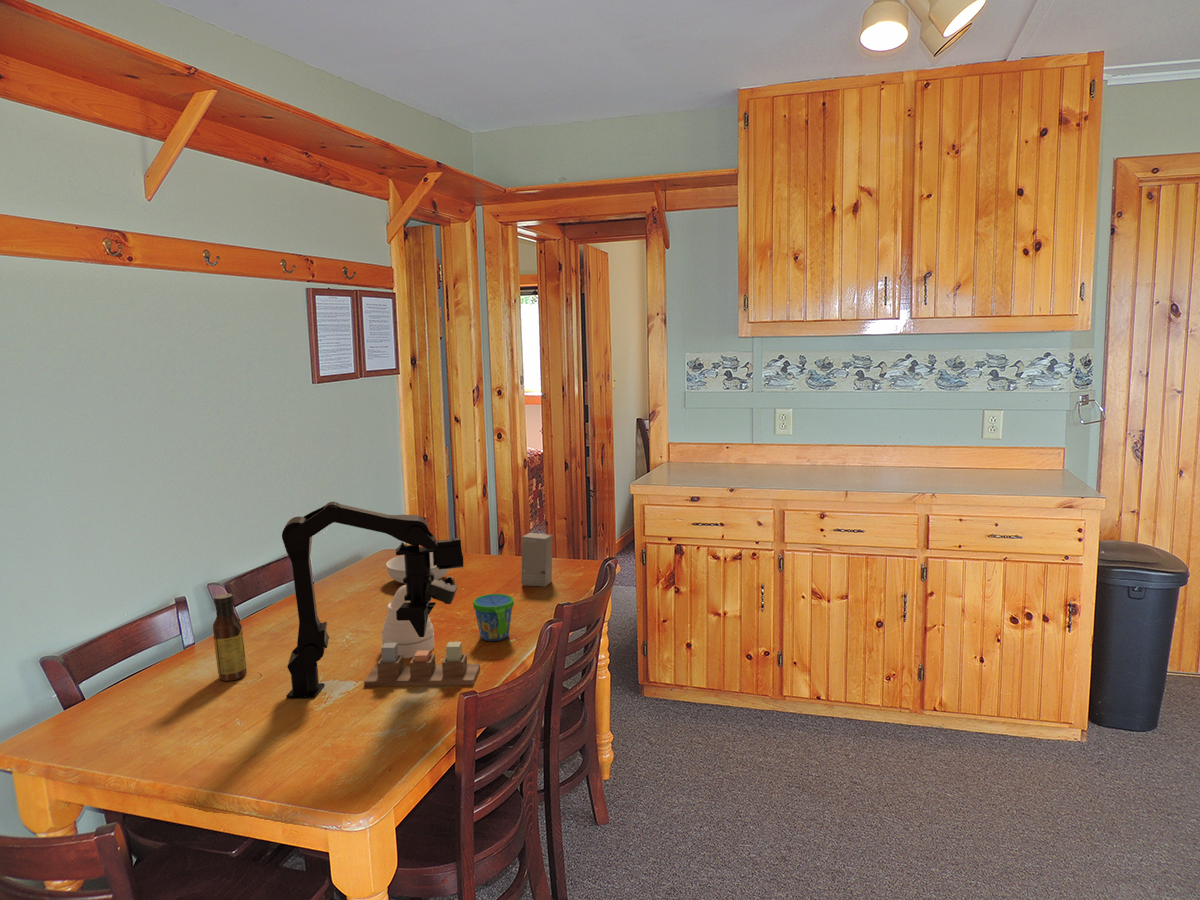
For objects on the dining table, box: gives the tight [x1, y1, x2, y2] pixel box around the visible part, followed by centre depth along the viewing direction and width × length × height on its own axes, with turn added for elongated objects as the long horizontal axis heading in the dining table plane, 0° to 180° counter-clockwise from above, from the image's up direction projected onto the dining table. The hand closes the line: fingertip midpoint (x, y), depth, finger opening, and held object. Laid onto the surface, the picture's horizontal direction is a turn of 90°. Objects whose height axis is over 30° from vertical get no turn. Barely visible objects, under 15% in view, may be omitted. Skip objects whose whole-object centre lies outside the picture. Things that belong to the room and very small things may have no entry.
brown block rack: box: [363, 653, 481, 687], centre depth 189 cm, size 9×25×5 cm, turn 89°
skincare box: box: [521, 532, 553, 588], centre depth 258 cm, size 8×7×16 cm
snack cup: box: [472, 593, 515, 642], centre depth 213 cm, size 16×10×10 cm
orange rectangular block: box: [414, 650, 431, 662], centre depth 189 cm, size 3×3×5 cm
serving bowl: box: [385, 552, 450, 585], centre depth 264 cm, size 21×21×7 cm
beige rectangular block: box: [445, 641, 463, 662], centre depth 188 cm, size 3×3×5 cm
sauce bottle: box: [212, 593, 247, 682], centre depth 191 cm, size 7×6×20 cm
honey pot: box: [381, 584, 435, 659], centre depth 206 cm, size 13×13×18 cm
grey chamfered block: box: [380, 643, 399, 663], centre depth 189 cm, size 3×3×5 cm
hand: (421, 636), depth 188 cm, fingers closed
